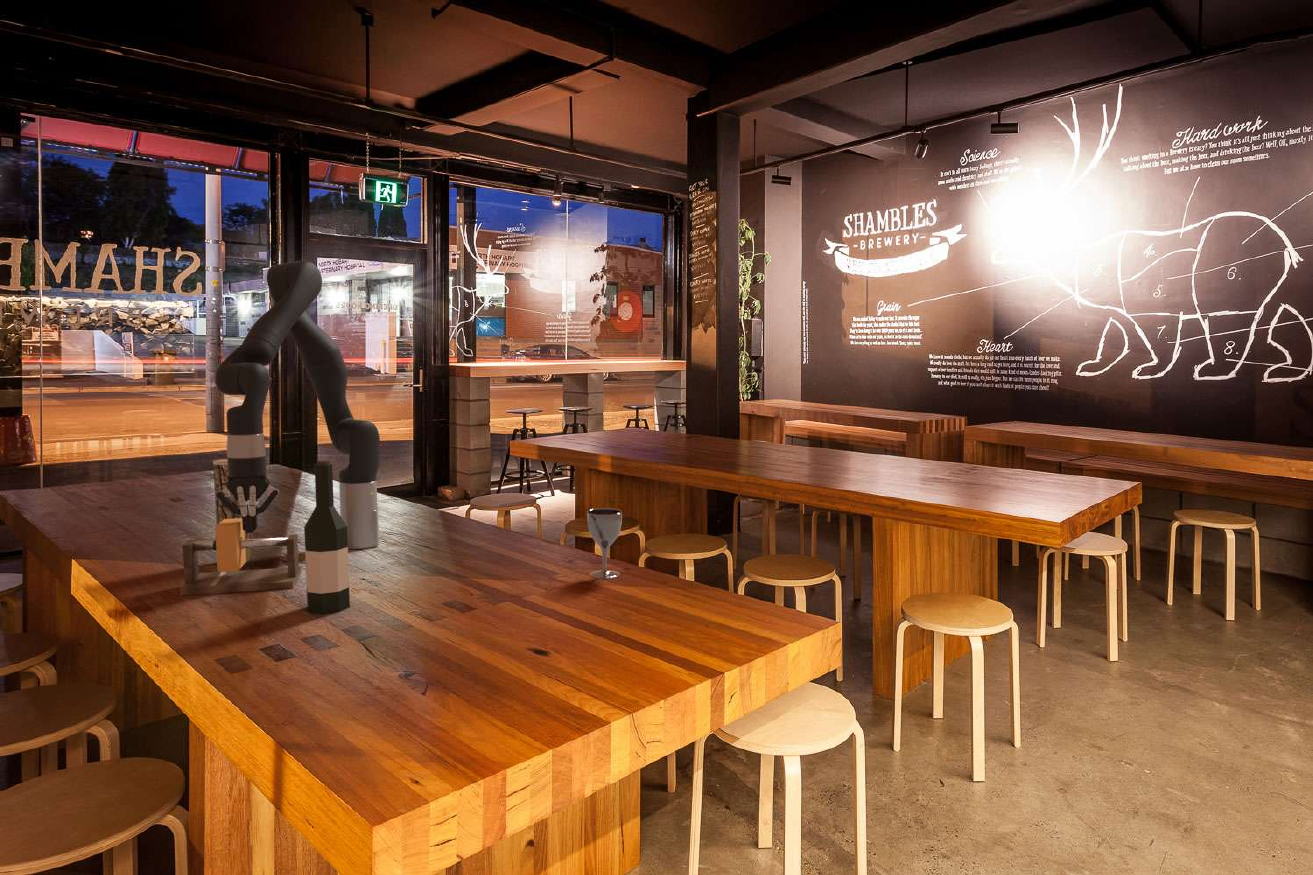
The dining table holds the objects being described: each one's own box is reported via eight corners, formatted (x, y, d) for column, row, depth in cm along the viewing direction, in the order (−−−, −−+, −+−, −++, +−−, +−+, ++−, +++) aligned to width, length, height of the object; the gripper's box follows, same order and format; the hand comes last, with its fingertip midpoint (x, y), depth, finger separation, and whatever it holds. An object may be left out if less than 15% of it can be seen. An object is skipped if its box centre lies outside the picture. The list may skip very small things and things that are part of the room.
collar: (246, 561, 185) (243, 518, 184) (238, 571, 178) (235, 525, 177) (226, 562, 184) (224, 518, 183) (217, 572, 177) (215, 526, 175)
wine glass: (626, 571, 194) (626, 509, 192) (614, 580, 186) (614, 515, 185) (595, 568, 196) (595, 506, 195) (582, 577, 189) (581, 513, 187)
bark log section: (236, 567, 196) (231, 463, 193) (212, 565, 197) (206, 462, 194) (256, 559, 202) (251, 459, 199) (232, 558, 204) (226, 458, 201)
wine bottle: (314, 601, 170) (308, 457, 167) (355, 600, 171) (350, 457, 167) (300, 614, 162) (294, 463, 158) (343, 613, 162) (338, 463, 159)
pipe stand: (301, 573, 191) (299, 530, 189) (293, 588, 179) (291, 542, 178) (195, 579, 185) (193, 535, 184) (180, 595, 173) (177, 548, 172)
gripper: (282, 451, 185) (285, 527, 186) (217, 453, 181) (221, 530, 183) (276, 455, 177) (280, 534, 179) (208, 457, 174) (213, 537, 176)
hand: (250, 532), depth 181 cm, fingers closed
